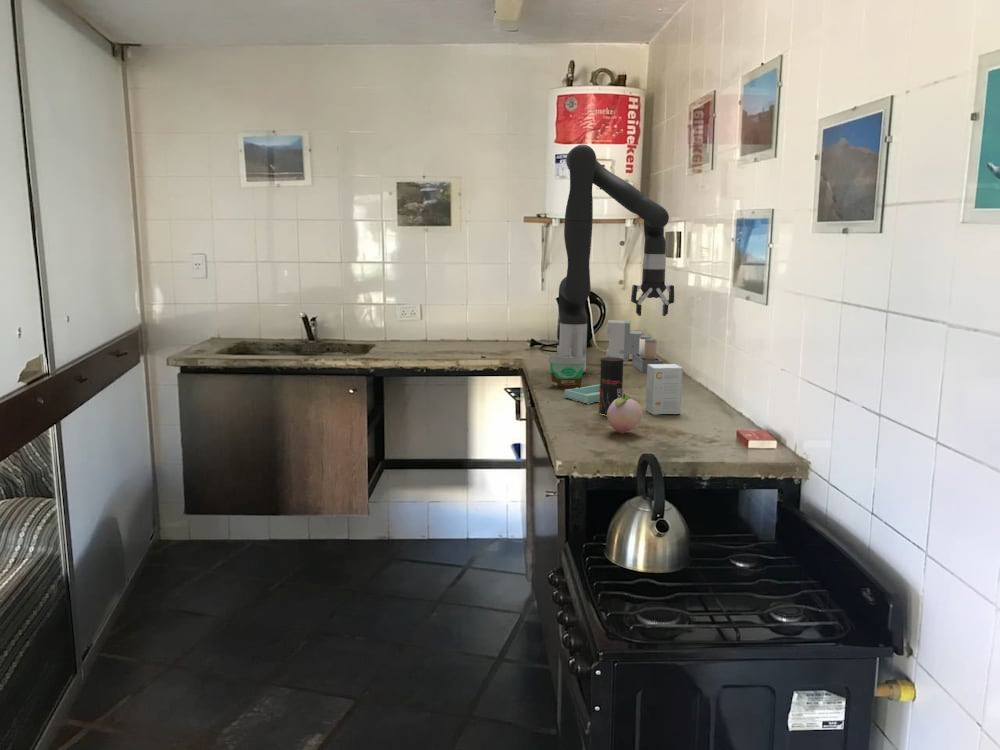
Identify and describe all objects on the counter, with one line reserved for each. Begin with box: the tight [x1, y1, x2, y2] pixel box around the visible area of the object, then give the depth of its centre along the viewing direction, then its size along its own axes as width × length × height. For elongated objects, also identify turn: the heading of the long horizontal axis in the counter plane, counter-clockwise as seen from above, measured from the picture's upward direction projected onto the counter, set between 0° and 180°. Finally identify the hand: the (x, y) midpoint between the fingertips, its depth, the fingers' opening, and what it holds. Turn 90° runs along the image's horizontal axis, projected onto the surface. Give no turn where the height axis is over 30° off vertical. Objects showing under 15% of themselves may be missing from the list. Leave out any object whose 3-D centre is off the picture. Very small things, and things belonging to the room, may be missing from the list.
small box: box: [645, 363, 684, 415], centre depth 216 cm, size 8×6×13 cm
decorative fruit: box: [606, 393, 643, 434], centre depth 194 cm, size 9×8×10 cm
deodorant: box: [598, 356, 624, 415], centre depth 214 cm, size 6×6×15 cm
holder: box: [631, 334, 664, 374], centre depth 278 cm, size 16×7×12 cm, turn 3°
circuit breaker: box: [605, 319, 643, 362], centre depth 296 cm, size 8×14×15 cm, turn 78°
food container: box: [547, 354, 587, 389], centre depth 249 cm, size 12×6×10 cm, turn 105°
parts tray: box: [564, 384, 624, 403], centre depth 234 cm, size 14×10×2 cm
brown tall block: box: [644, 338, 658, 360], centre depth 274 cm, size 4×4×11 cm
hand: (651, 315), depth 271 cm, fingers open, 8 cm apart
